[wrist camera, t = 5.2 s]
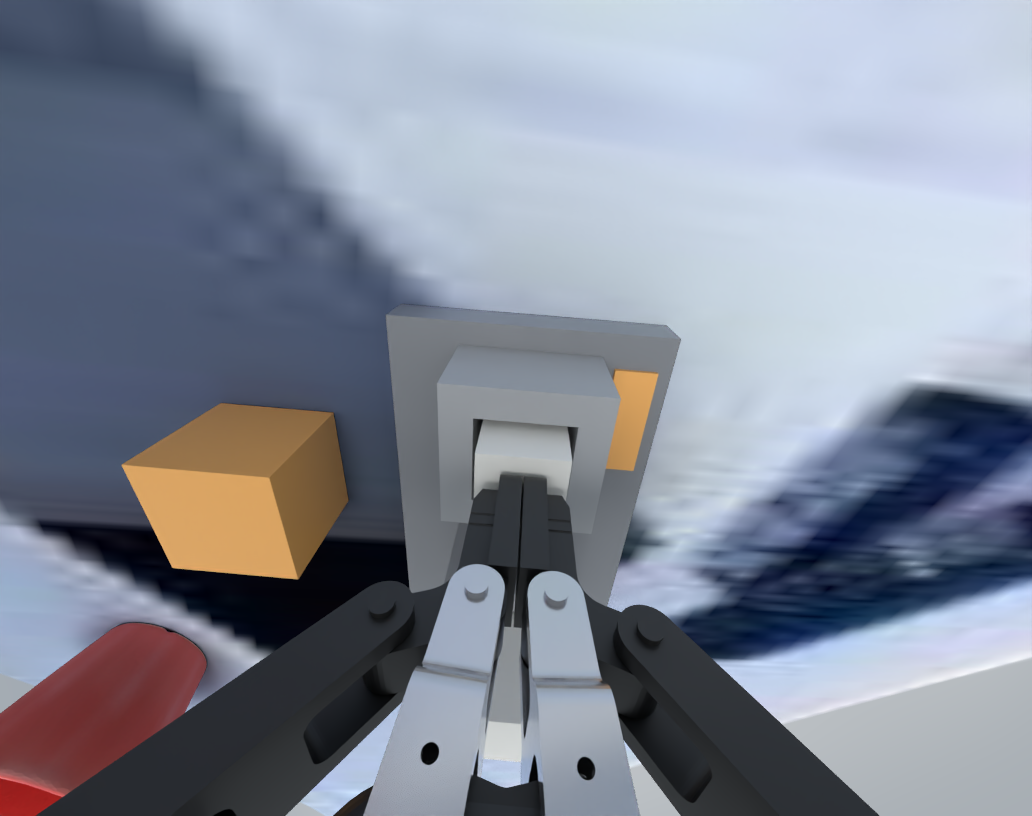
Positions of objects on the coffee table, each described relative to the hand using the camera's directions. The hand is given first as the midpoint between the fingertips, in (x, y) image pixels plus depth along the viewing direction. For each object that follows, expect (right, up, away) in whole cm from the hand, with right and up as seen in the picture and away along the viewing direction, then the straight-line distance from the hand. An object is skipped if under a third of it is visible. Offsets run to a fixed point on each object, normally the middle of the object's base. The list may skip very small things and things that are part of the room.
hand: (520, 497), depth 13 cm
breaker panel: (0, -1, +9) cm, 9 cm away
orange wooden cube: (-13, 0, +9) cm, 16 cm away
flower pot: (-29, -17, +19) cm, 39 cm away
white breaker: (0, +3, +5) cm, 6 cm away
